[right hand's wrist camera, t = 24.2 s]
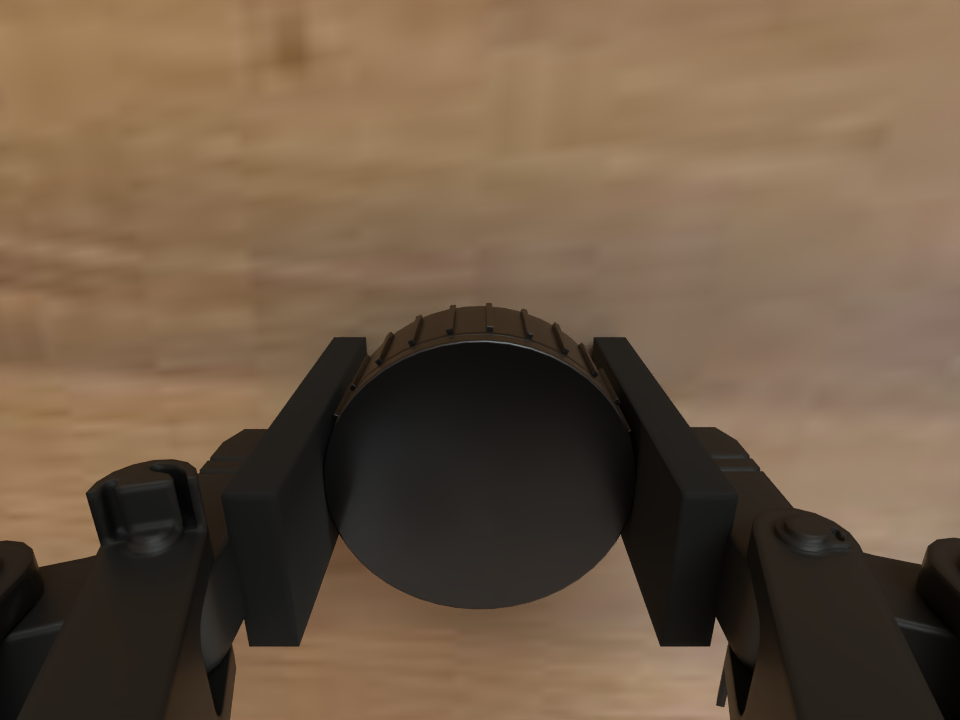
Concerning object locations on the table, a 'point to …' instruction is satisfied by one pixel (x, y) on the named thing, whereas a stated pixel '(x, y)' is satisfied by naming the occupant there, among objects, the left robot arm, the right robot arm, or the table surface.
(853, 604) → the right robot arm
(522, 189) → the table surface
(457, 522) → the lid
